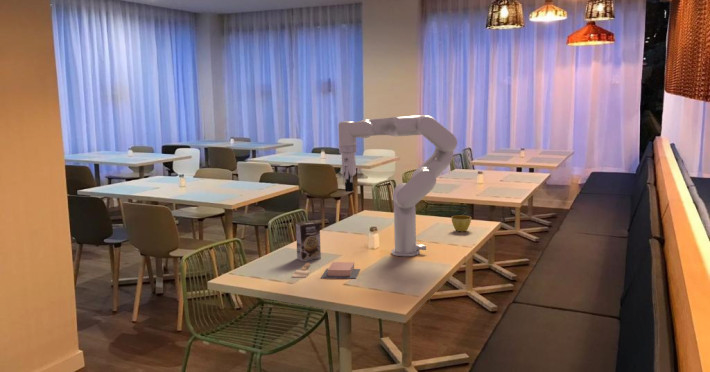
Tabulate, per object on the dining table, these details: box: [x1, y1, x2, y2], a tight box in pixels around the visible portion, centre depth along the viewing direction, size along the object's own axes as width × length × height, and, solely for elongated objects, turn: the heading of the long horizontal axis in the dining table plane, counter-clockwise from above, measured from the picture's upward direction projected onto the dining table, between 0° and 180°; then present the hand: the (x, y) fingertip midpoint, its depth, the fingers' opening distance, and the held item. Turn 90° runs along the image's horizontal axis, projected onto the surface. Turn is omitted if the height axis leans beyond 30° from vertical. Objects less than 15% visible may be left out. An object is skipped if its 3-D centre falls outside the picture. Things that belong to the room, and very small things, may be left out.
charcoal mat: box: [320, 268, 361, 280], centre depth 241 cm, size 14×12×1 cm
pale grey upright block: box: [327, 261, 355, 276], centre depth 242 cm, size 9×3×11 cm
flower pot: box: [451, 214, 472, 232], centre depth 307 cm, size 10×10×7 cm
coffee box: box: [295, 220, 322, 262], centre depth 264 cm, size 9×6×16 cm
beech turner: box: [291, 262, 311, 279], centre depth 246 cm, size 17×6×1 cm, turn 172°
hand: (349, 191), depth 264 cm, fingers closed
